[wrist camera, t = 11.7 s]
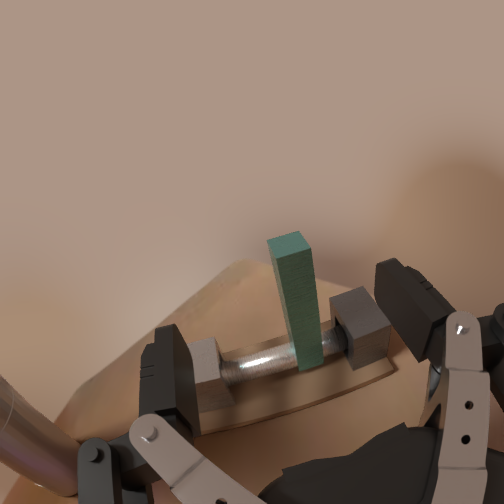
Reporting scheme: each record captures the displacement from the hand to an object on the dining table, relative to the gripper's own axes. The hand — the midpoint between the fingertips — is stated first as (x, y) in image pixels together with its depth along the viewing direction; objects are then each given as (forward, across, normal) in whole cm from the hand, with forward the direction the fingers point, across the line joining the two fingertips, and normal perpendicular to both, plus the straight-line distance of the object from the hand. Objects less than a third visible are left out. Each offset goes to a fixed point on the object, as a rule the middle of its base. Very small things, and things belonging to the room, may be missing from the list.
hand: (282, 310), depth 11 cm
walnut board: (+13, 0, +24) cm, 27 cm away
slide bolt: (+13, -2, +22) cm, 26 cm away
